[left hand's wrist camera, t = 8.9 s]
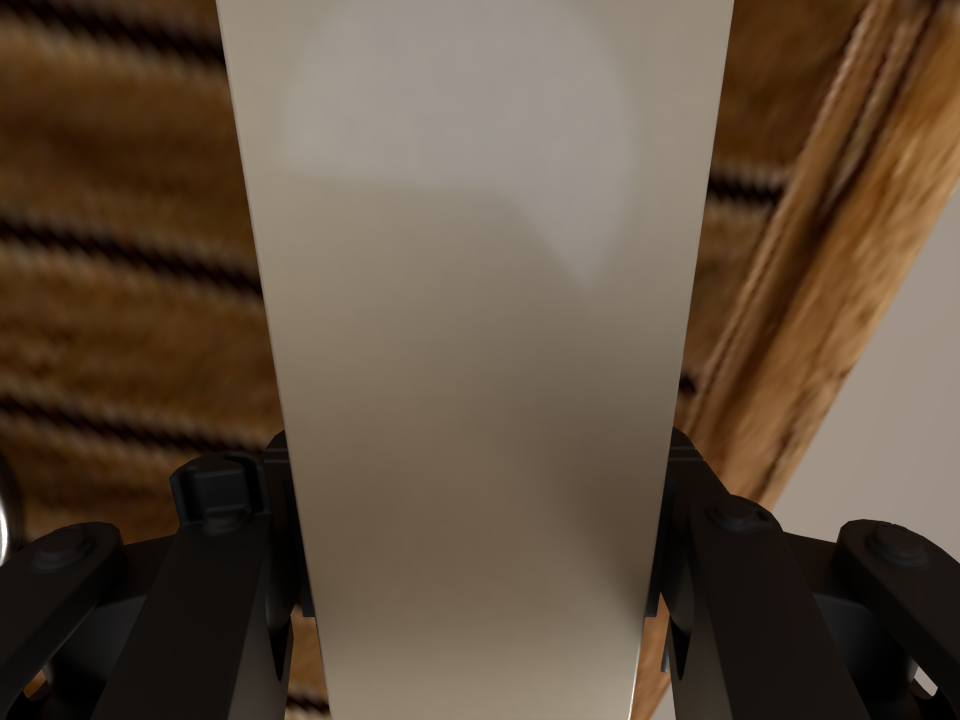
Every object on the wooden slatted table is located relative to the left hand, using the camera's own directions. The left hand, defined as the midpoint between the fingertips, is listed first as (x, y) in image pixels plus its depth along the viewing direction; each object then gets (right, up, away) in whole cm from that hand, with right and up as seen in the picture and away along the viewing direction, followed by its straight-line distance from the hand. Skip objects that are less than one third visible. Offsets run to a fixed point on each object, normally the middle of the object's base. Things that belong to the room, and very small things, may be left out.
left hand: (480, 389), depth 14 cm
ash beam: (0, +10, -4) cm, 10 cm away
